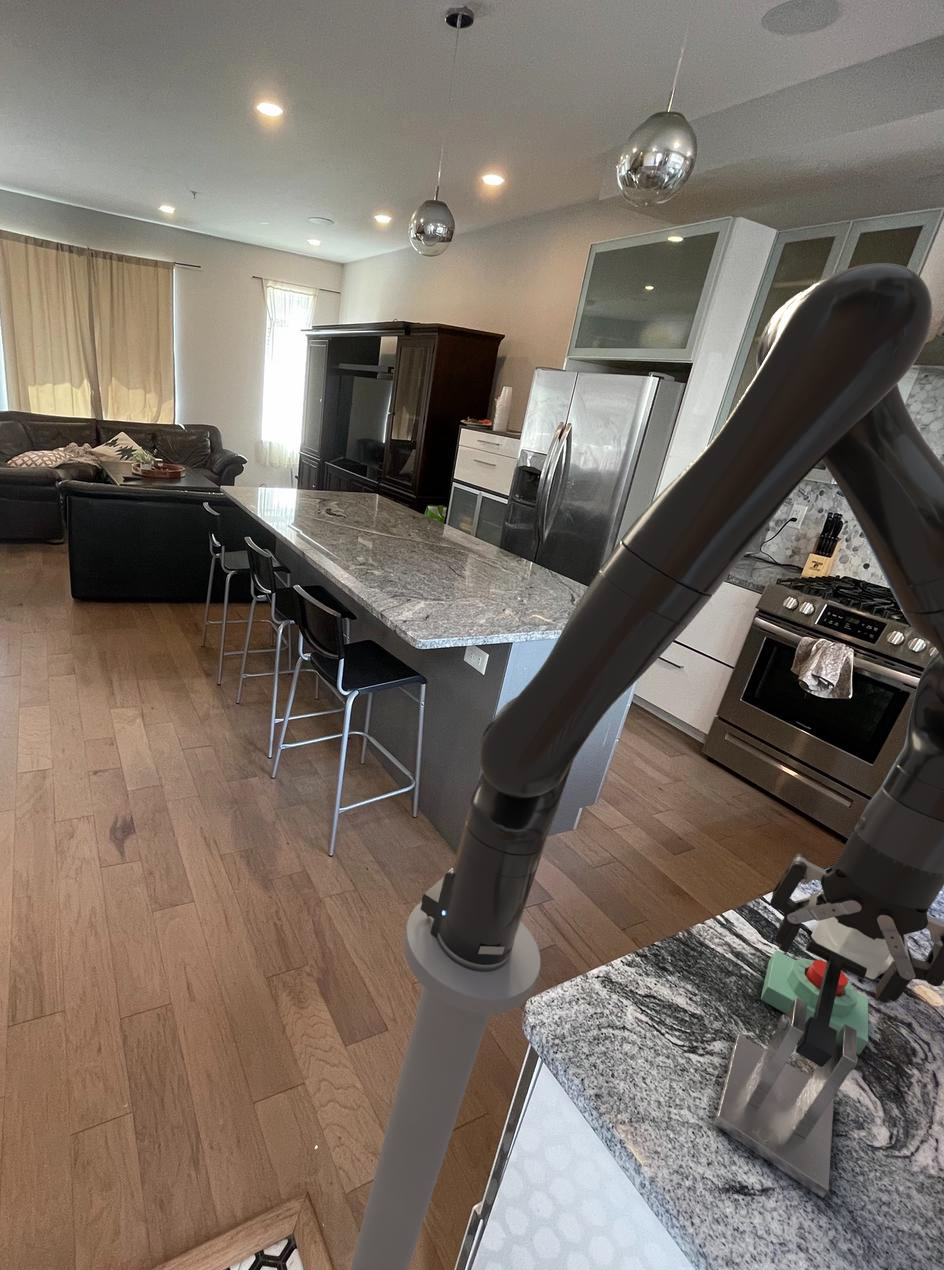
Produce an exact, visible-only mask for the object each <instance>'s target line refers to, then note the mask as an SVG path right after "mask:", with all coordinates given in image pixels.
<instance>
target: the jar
mask: <svg viewBox="0 0 944 1270" xmlns="http://www.w3.org/2000/svg"><path fill="white" fill-rule="evenodd" d="M817 922H818V923H817V924H816V926H815V927H814V929H813V931H812V933H811V935H810V937H811V939H812V941H814V942H816V943H818V944H820V945H822V946H824V947H826V948H828V949H830V950H832V951H834V952H836V953H838V954H840V955H842V956H844V957H846V958H848V959H850V960H852V961H854V962H856V963H858V964H860V965H862V966H864V967H866V968H867V972H866V975H865V977H864V978H867V979H870V980H875V979H876V978H878V977H880V976H881V975H882V974H884V973H885V972H886V971H887V969H888V968H889V966H890V964H891V963H892V961H894V959H893V957H892V956H891V954H890V951H889V949H888V946H887V943H886V941H885V939H877V938H876V939H875V940H874V939H871V938H869V937H867V936H865V935H864V934H863V933H861V932H860V931H858V930H857V929H853V928H850V927H846V926H844V925H842V924H840V923H838V920H837V919H836V918H835V917H832V918H828V919H824V920H820V921H817ZM911 934H912V933H909V934H905V936H906V939H907V940H908V939H909V938H910V936H911Z"/></svg>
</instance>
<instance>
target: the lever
mask: <svg viewBox="0 0 944 1270" xmlns="http://www.w3.org/2000/svg"><path fill="white" fill-rule="evenodd" d="M805 951H806V952H808V953H810V954H812V955H814V956H816V957H817V958H820V959H821V960H823V961H825V962H827V963H826V967H825V971H824V975H823V979H822V984H821V988H820V992H819V996H818V1000H817V1004H816V1008H815V1012H814V1017H810V1018H809V1019H808V1020H807V1021H806V1023H805V1028H804V1034H803V1035H802V1037H801V1039H800V1040H799V1042H798V1044H797V1045H796V1047H795V1053H796V1054H797V1055H800V1056H802V1057H803V1058H805V1059H806V1060H808V1061H810V1062H812V1063H813V1064H815V1065H817V1066H818V1065H819V1066H820V1067H823V1066H824V1065H825V1064H826V1063H827V1062H828V1061H829V1060H830V1058H831V1057H832V1056H833V1051H834V1046H835V1041H836V1037H837V1030H835V1029H833V1028H831V1027H829V1023H830V1019H831V1014H832V1010H833V1005H834V1001H835V996H836V992H837V987H838V983H839V978H840V974H841V971H842V970H843V971H845V972H847V973H849V974H852V975H853V976H855V977H857V978H860V979H861V980H862V979H865V978H866V977H865V975H866V972H867V968H866V967H864V966H862V965H860V964H858V963H856V962H854V961H852V960H850V959H848V958H846V957H844V956H842V955H840V954H838V953H836V952H834V951H832V950H830V949H828V948H826V947H824V946H822V945H820V944H818V943H816V942H815V941H814V940H813V939H809V940H808V941H807V944H806V945H805Z"/></svg>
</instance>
